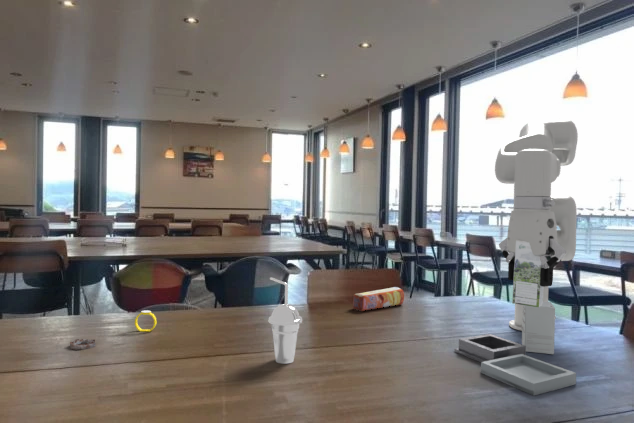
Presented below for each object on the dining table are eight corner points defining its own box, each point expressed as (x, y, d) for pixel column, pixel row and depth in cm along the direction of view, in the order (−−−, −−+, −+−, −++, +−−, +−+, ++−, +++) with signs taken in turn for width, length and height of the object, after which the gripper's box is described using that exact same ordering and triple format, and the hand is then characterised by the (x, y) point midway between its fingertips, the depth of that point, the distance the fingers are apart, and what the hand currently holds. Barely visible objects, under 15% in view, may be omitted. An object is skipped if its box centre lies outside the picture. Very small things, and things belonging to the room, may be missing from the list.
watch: (156, 330, 138) (158, 311, 138) (153, 333, 135) (155, 313, 135) (136, 329, 138) (138, 309, 137) (133, 331, 135) (134, 311, 135)
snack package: (362, 313, 164) (363, 294, 164) (350, 309, 169) (351, 291, 169) (404, 306, 176) (405, 288, 176) (392, 302, 182) (392, 285, 182)
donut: (98, 352, 119) (98, 344, 119) (63, 356, 116) (63, 347, 116) (98, 342, 127) (98, 334, 127) (66, 345, 124) (66, 338, 123)
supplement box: (550, 346, 128) (551, 301, 128) (554, 355, 121) (555, 307, 121) (521, 343, 131) (522, 299, 130) (523, 351, 124) (525, 304, 123)
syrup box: (543, 304, 105) (547, 240, 105) (539, 308, 100) (543, 241, 100) (516, 300, 108) (520, 238, 108) (511, 304, 103) (515, 239, 103)
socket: (489, 345, 129) (489, 332, 128) (529, 359, 117) (530, 346, 117) (454, 351, 122) (454, 338, 122) (493, 367, 111) (494, 353, 111)
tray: (521, 363, 114) (521, 353, 114) (575, 384, 102) (576, 373, 102) (480, 372, 108) (481, 362, 107) (533, 395, 95) (534, 383, 95)
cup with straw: (275, 368, 108) (276, 283, 107) (261, 356, 116) (262, 277, 115) (307, 363, 112) (309, 281, 111) (292, 352, 120) (293, 275, 119)
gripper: (579, 205, 98) (576, 288, 98) (510, 204, 113) (508, 275, 114) (556, 205, 94) (554, 291, 95) (489, 204, 110) (487, 277, 110)
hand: (529, 282), depth 104 cm, fingers closed on syrup box, 7 cm apart
